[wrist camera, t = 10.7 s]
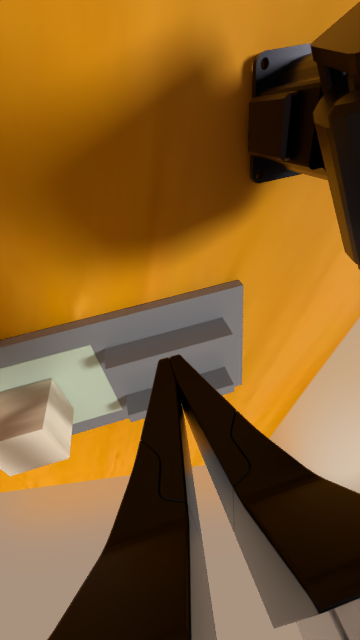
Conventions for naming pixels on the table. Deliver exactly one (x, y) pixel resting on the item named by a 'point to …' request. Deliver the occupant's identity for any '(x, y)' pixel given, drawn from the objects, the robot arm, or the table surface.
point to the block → (34, 427)
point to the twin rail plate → (131, 353)
